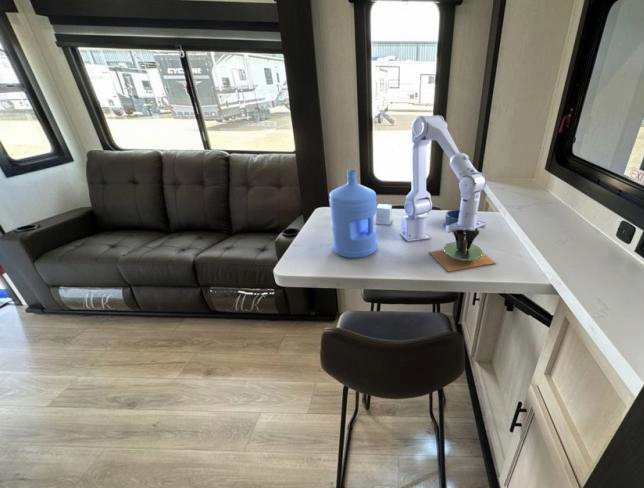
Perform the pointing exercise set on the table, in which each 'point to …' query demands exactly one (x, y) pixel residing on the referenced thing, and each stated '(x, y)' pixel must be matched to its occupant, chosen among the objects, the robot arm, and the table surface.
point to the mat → (459, 261)
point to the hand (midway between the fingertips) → (462, 248)
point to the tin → (452, 217)
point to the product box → (383, 214)
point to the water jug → (353, 218)
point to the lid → (463, 251)
